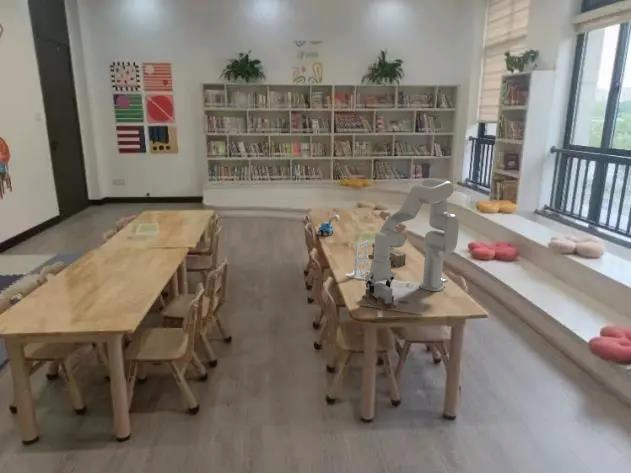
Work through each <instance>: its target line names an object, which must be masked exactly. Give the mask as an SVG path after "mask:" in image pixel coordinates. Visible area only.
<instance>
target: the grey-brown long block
mask: <svg viewBox="0 0 631 473" xmlns="http://www.w3.org/2000/svg"><path fill="white" fill-rule="evenodd" d="M374 245H375V242H374V243H372V244H371V247H372V255H373V256H374ZM390 255H391V257H390V258H389V260H390V263H391V265H392V266H394V267H396V268H399V267H404V266H406V258H407V254H406V252H405V253H404V252H403V251H400V250H399V249H396V248H395V247H391V248H390Z"/></svg>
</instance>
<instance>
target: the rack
mask: <svg viewBox="0 0 631 473" xmlns="http://www.w3.org/2000/svg"><path fill="white" fill-rule="evenodd" d="M370 293H371V292H370V291H369V290H368V288H366V289H365V293H364V294H363V295H362V296H361V297H362V298H363V299H364V300H366V301H367V302H369V303H371V304H372V305H373V306H375V307H376V308H378V309H379V310H381V311H385V310H389V309H395V308H397V304H395V303H394V302H395V296H394V295H392V303H387V304H385V303H384V302H383V298H381V297H380V296H379V297H378V299H377V298H376V297H374V296H373V295H371V294H370Z"/></svg>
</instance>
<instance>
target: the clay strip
mask: <svg viewBox="0 0 631 473" xmlns="http://www.w3.org/2000/svg"><path fill="white" fill-rule="evenodd" d="M369 280H371V279H370V278H369ZM372 282H373V281H372ZM367 289H368V290H369V284H368V286H367ZM370 294H371V295H373V296H374V297H376V298H377V299H378V297H379V296H380V297H381V298H383V302H384V303H385V304H387V303H392V296H393V288H391V286H390V287H388V286H386V284H384V283H383V282H382V281H377V282H375V283H374V293H370Z"/></svg>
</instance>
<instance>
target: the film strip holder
mask: <svg viewBox="0 0 631 473" xmlns="http://www.w3.org/2000/svg"><path fill="white" fill-rule="evenodd" d="M362 248H366V250H365V252H364V253H361V254H359V251H360V249H362ZM368 253H369V240H368V239H367V240H365V241H363V242H360V243H358V244H355V248H354V257H355V258H354V262H353V263H354V264H353V266H354V269H353V270H352V271H351V272H348V273H345V274H344V275H345V276H344V277H348V278H353V279H355V280H359V281H361V280H362V281H365V280H366V279H365V276H364V275H365V274H367V275H369V274H370V270H368V265H369V267H371V262H370V259H369V255H368ZM362 264H365V266H364V269H362V268H361V267H360V266H361V265H362ZM358 268H359V269H358Z"/></svg>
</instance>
